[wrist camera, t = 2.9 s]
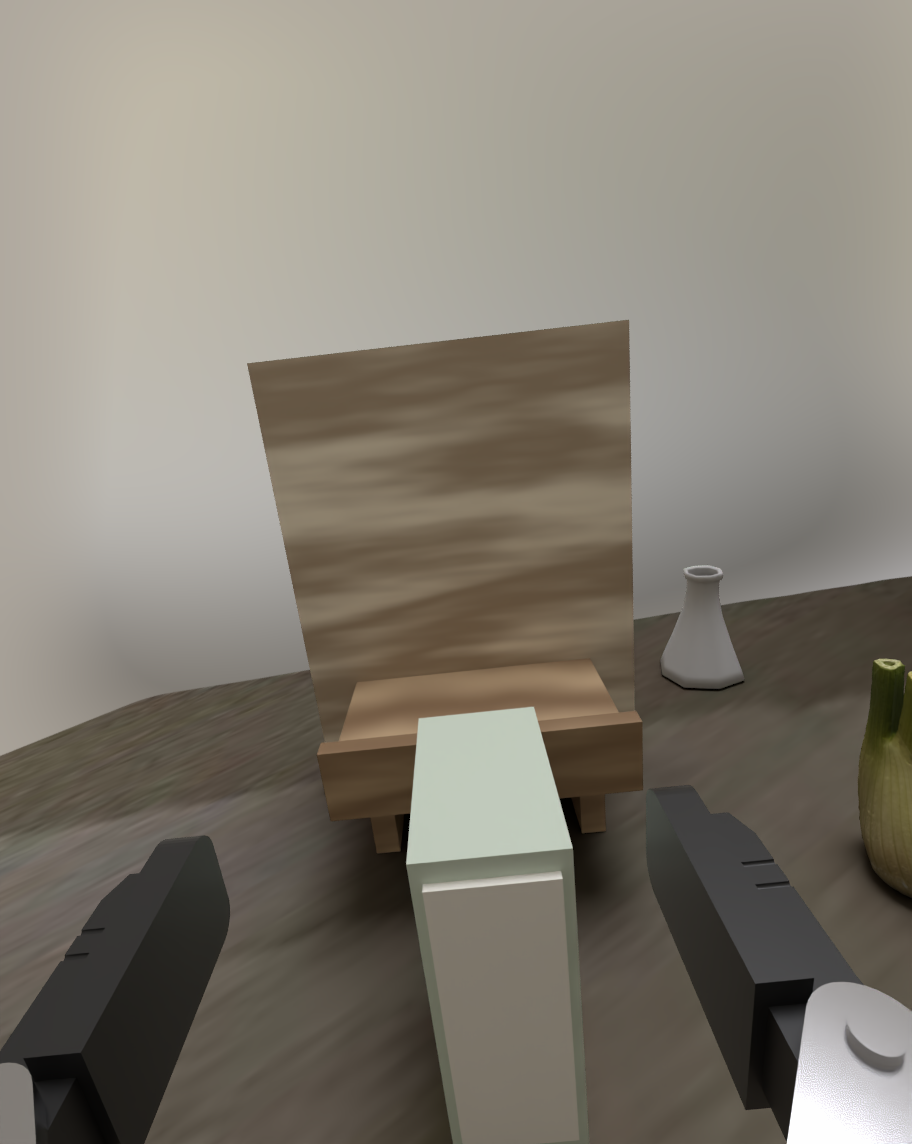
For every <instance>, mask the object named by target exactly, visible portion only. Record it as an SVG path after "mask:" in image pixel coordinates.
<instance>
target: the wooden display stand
mask: <svg viewBox="0 0 912 1144" xmlns="http://www.w3.org/2000/svg"><path fill="white" fill-rule="evenodd" d="M629 360H630V357H629V320H623V321H615V322H606V323H597V324H589V325H579V326H570V327H562V328H553V329H544V330H536V331H527V332H518V333H509V334H501V335H492V336H483V337H474V338H467V339H457V340H449V341H440V342H431V343H422V344H414V345H405V346H396V347H388V348H378V349H370V350H361V351H352V352H343V353H335V354H327V355H318V356H310V357H309V356H308V357H300V358H291V359H283V360H274V361H265V362H256V363H248V364H247V365H248V370H249V375H250V380H251V384H252V389H253V394H254V399H255V404H256V409H257V414H258V419H259V423H260V428H261V433H262V437H263V443H264V448H265V453H266V457H267V462H268V467H269V472H270V477H271V482H272V486H273V492H274V496H275V501H276V506H277V511H278V516H279V521H280V525H281V530H282V535H283V540H284V545H285V550H286V555H287V560H288V564H289V569H290V574H291V579H292V584H293V589H294V594H295V599H296V603H297V608H298V613H299V618H300V623H301V628H302V633H303V637H304V642H305V647H306V652H307V657H308V662H309V667H310V672H311V676H312V681H313V686H314V691H315V696H316V701H317V706H318V710H319V715H320V720H321V725H322V730H323V735H324V740H325V743H321V745H320V747H319V750H318V753H317V758H318V763H319V768H320V772H321V777H322V782H323V787H324V791H325V796H326V801H327V805H328V810H329V815H330V820H331V821H339V820H349V819H359V818H369V817H370V818H371V824H372V829H373V834H374V840H375V845H376V851H377V854H378V853H388V852H398V851H401V842H402V832H403V822H404V814H409V813H411V802H412V791H413V779H414V767H415V756H416V744H417V733H418V721H419V718H428V717H438V716H447V715H457V714H467V713H477V712H487V711H496V710H506V709H516V708H526V707H534V709H535V713H536V716H537V720H538V724H539V727H540V731H541V735H542V738H543V742H544V745H545V749H546V753H547V756H548V760H549V764H550V767H551V771H552V774H553V778H554V782H555V785H556V789H557V793H558V796H559V798H569V797H571V799H572V802H573V806H574V809H575V812H576V815H577V819H578V822H579V825H580V828H581V832H582V833H591V832H601V831H606V822H605V794H609V793H619V792H630V791H640V790H643V748H642V721H641V719H640V717H639V715H638V714H637V712H636V711H635V703H634V633H633V568H632V567H633V564H632V497H631V496H632V494H631V430H630V429H631V426H630V361H629Z"/></svg>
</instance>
